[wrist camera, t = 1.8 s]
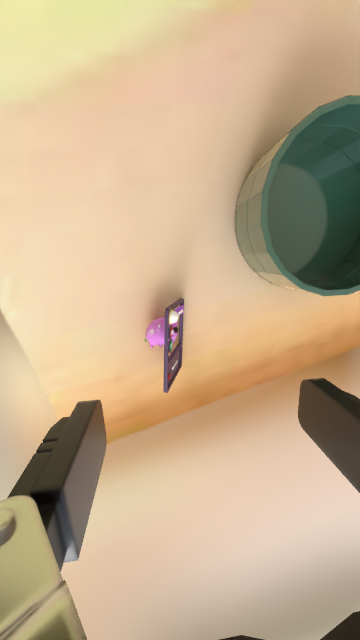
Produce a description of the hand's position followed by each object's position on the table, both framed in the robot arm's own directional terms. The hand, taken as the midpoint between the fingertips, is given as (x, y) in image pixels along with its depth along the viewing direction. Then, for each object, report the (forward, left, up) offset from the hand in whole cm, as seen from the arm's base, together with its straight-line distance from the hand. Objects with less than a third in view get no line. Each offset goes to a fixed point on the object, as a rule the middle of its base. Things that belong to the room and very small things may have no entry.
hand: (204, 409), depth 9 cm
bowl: (-10, +16, -20) cm, 28 cm away
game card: (+3, -1, -20) cm, 21 cm away
